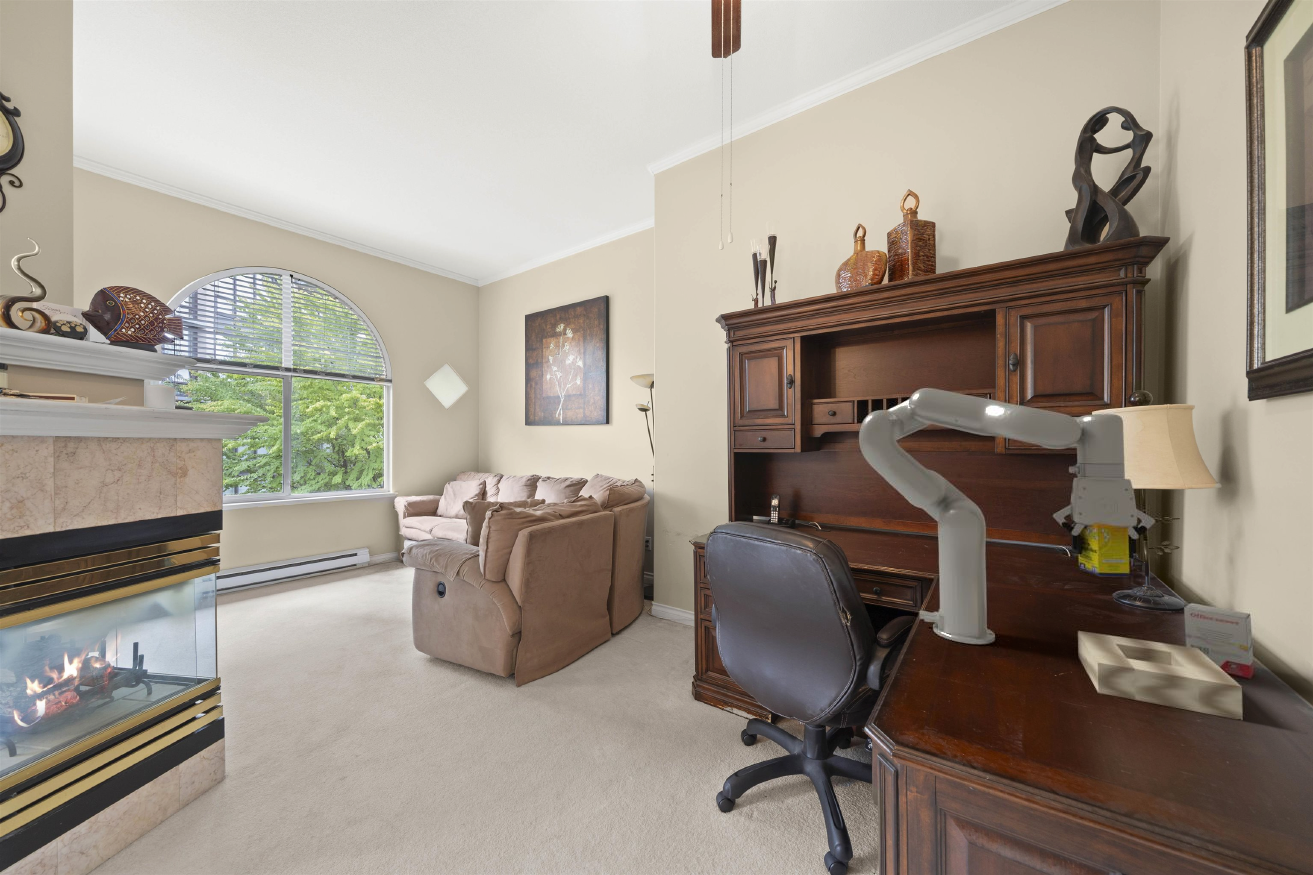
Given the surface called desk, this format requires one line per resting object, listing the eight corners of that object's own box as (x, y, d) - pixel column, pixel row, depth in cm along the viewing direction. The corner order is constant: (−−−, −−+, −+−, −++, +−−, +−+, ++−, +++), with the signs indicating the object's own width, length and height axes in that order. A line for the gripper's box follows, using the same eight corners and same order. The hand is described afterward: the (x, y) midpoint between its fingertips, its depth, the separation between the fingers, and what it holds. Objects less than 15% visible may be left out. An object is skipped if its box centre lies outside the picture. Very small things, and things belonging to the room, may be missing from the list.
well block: (1098, 692, 91) (1097, 662, 91) (1078, 656, 106) (1078, 630, 107) (1242, 720, 82) (1241, 686, 82) (1198, 676, 97) (1197, 648, 97)
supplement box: (1077, 569, 109) (1076, 519, 110) (1108, 570, 109) (1106, 519, 109) (1098, 576, 104) (1097, 523, 104) (1130, 577, 103) (1128, 524, 103)
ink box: (1254, 673, 98) (1253, 613, 98) (1250, 680, 95) (1248, 618, 96) (1190, 657, 106) (1189, 601, 106) (1185, 663, 103) (1183, 606, 103)
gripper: (1052, 472, 107) (1055, 554, 107) (1163, 473, 99) (1166, 562, 99) (1046, 470, 114) (1048, 548, 114) (1149, 471, 106) (1151, 555, 105)
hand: (1103, 554), depth 106 cm, fingers closed on supplement box, 7 cm apart
